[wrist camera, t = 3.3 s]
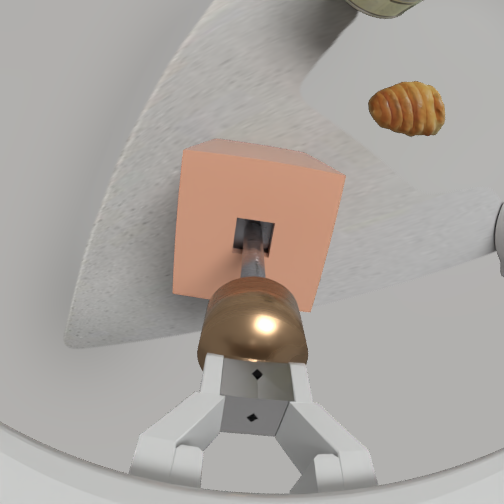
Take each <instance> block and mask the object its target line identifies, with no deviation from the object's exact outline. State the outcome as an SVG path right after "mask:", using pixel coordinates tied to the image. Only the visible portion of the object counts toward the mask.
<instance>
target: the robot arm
mask: <svg viewBox="0 0 504 504" xmlns="http://www.w3.org/2000/svg"><path fill="white" fill-rule="evenodd" d="M495 245H496V251H497V254H498V256H499V259H500V262H501V275H502V276H503V277H504V203H503V205H502V208H501V210H500V213H499V216H498V220H497V225H496V232H495ZM220 432H228V433H241V434H253V435H263V436H275V438H276V440H277V441H278V443H279V444H280V445H281V447H282V448H283V450H284V451H285V452H286V454H287V455H288V457H289V458H290V459H291V461H292V462H293V463H294V464H295V466H296V467H297V469H298V470H299V471H300V473H301V474H302V476H301V477H300V479H299V480H298V481H297V483H296V484H295V485H294V487H293V488H292V489H291V490H290V494H260V493H240V492H228V491H218V490H209V489H202V488H200V486H201V474H202V462H203V451H204V450H205V449H206V448H207V447H208V446H209V445H210V443H211V442H212V441H213V440H214V439H215V438H216V436H218V434H219V433H220ZM0 504H504V448H502V449H500V450H498V451H495V452H493V453H491V454H488V455H486V456H483V457H481V458H478V459H475V460H473V461H470V462H467V463H465V464H462V465H459V466H456V467H453V468H450V469H447V470H443V471H440V472H436V473H433V474H429V475H426V476H422V477H417V478H413V479H409V480H405V481H400V482H395V483H390V484H385V485H379V486H378V483H377V479H376V475H375V471H374V467H373V464H372V460H371V456H370V453H369V450H368V449H367V448H366V447H365V446H363V444H361V443H360V442H359V441H358V440H357V439H356V438H355V437H354V436H353V435H352V434H350V433H349V432H348V431H347V430H346V429H345V428H344V427H343V426H342V425H341V424H340V423H339V422H338V421H337V420H336V419H335V418H333V417H332V416H331V415H330V414H329V413H328V412H327V411H326V410H325V409H324V408H323V407H322V406H321V405H320V404H319V403H313V398H312V393H311V387H310V382H309V377H308V372H307V367H306V365H305V363H293V362H277V361H266V360H255V359H248V358H240V357H234V356H227V355H218V354H213V353H207V355H206V358H205V364H204V369H203V375H202V381H201V387H200V392H193V393H192V394H191V395H190V396H189V397H187V398H186V399H185V400H184V401H182V402H181V403H180V404H179V405H177V406H176V407H175V408H174V409H172V410H171V411H170V412H169V413H167V414H166V415H165V416H163V417H162V418H161V419H160V420H158V421H157V422H156V423H154V424H153V425H152V426H151V427H149V428H148V429H147V430H145V431H144V432H143V433H141V434H140V436H139V439H138V443H137V446H136V449H135V453H134V456H133V460H132V463H131V467H130V471H129V474H127V473H124V472H120V471H116V470H113V469H109V468H106V467H103V466H100V465H97V464H94V463H91V462H88V461H86V460H82V459H80V458H77V457H74V456H72V455H69V454H67V453H64V452H62V451H59V450H57V449H55V448H52V447H50V446H48V445H46V444H43V443H41V442H39V441H37V440H35V439H33V438H30V437H28V436H26V435H24V434H22V433H20V432H18V431H16V430H15V429H13V428H11V427H9V426H7V425H5V424H3V423H2V422H0Z"/></svg>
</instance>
